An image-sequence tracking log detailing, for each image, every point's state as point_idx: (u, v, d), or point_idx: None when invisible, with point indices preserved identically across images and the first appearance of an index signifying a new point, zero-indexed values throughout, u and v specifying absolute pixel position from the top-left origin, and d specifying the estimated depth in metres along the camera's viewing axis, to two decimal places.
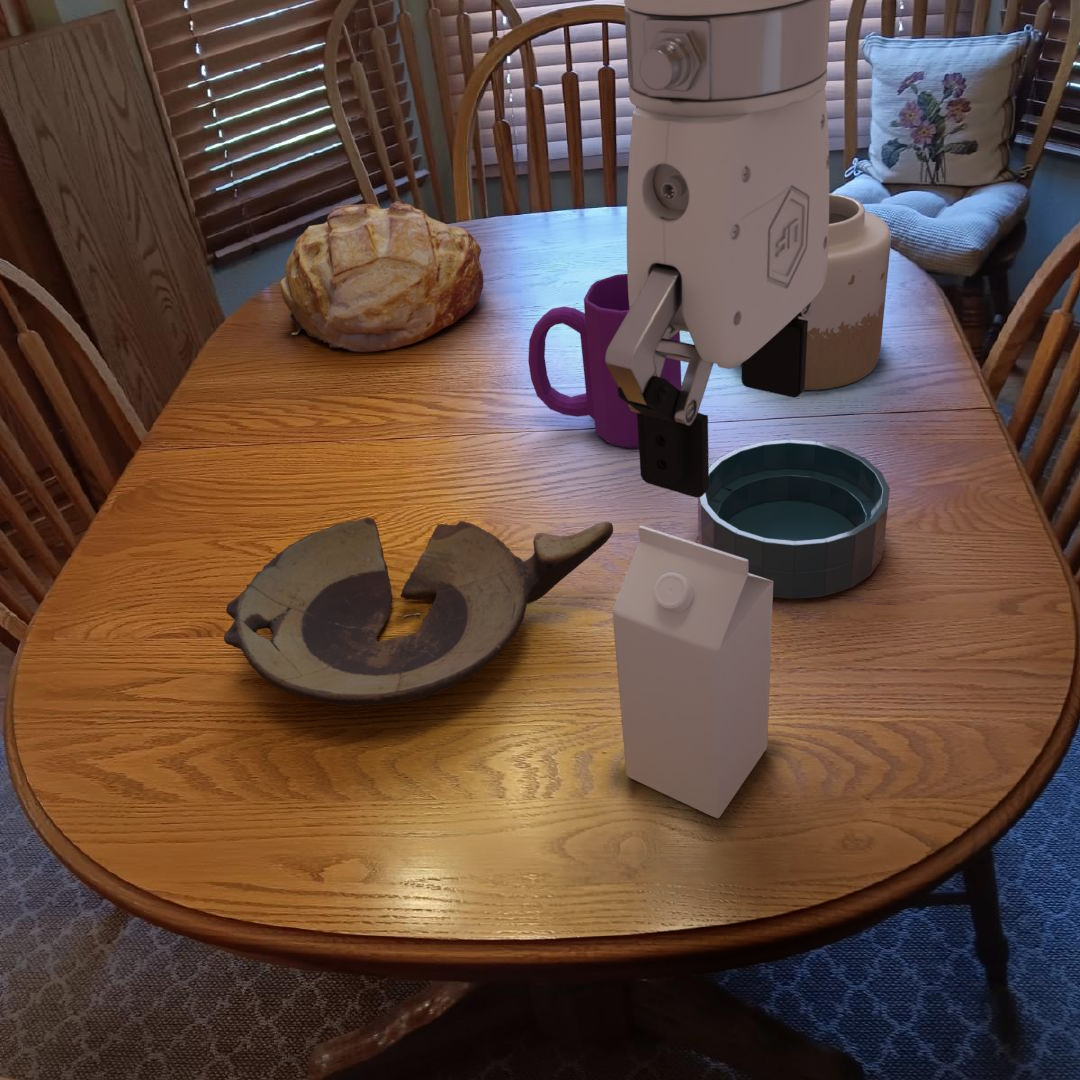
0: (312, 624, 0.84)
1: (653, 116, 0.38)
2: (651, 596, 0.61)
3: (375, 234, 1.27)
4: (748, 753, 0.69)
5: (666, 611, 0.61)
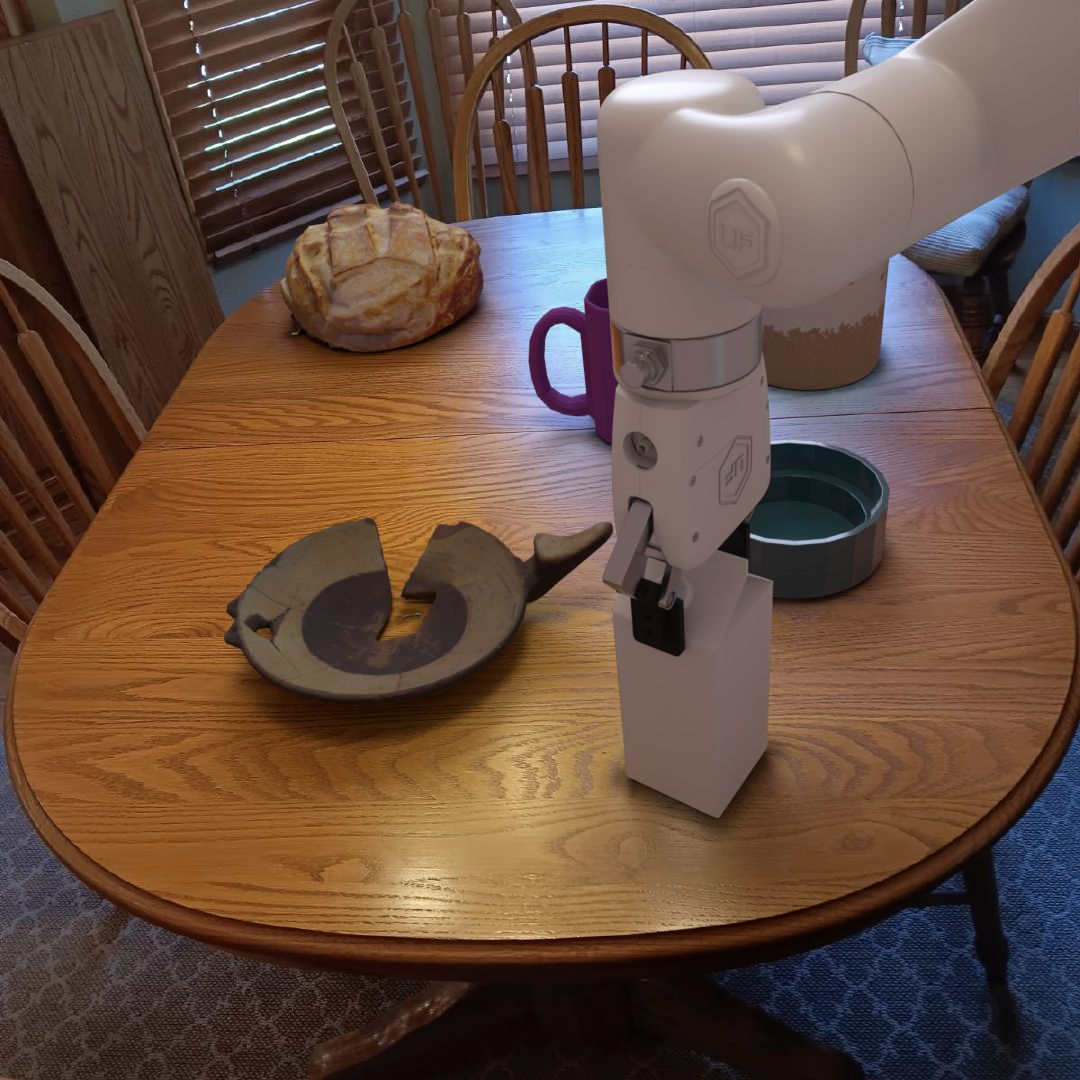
0: (312, 624, 0.84)
1: (630, 396, 0.52)
2: None
3: (375, 234, 1.27)
4: (748, 753, 0.69)
5: None
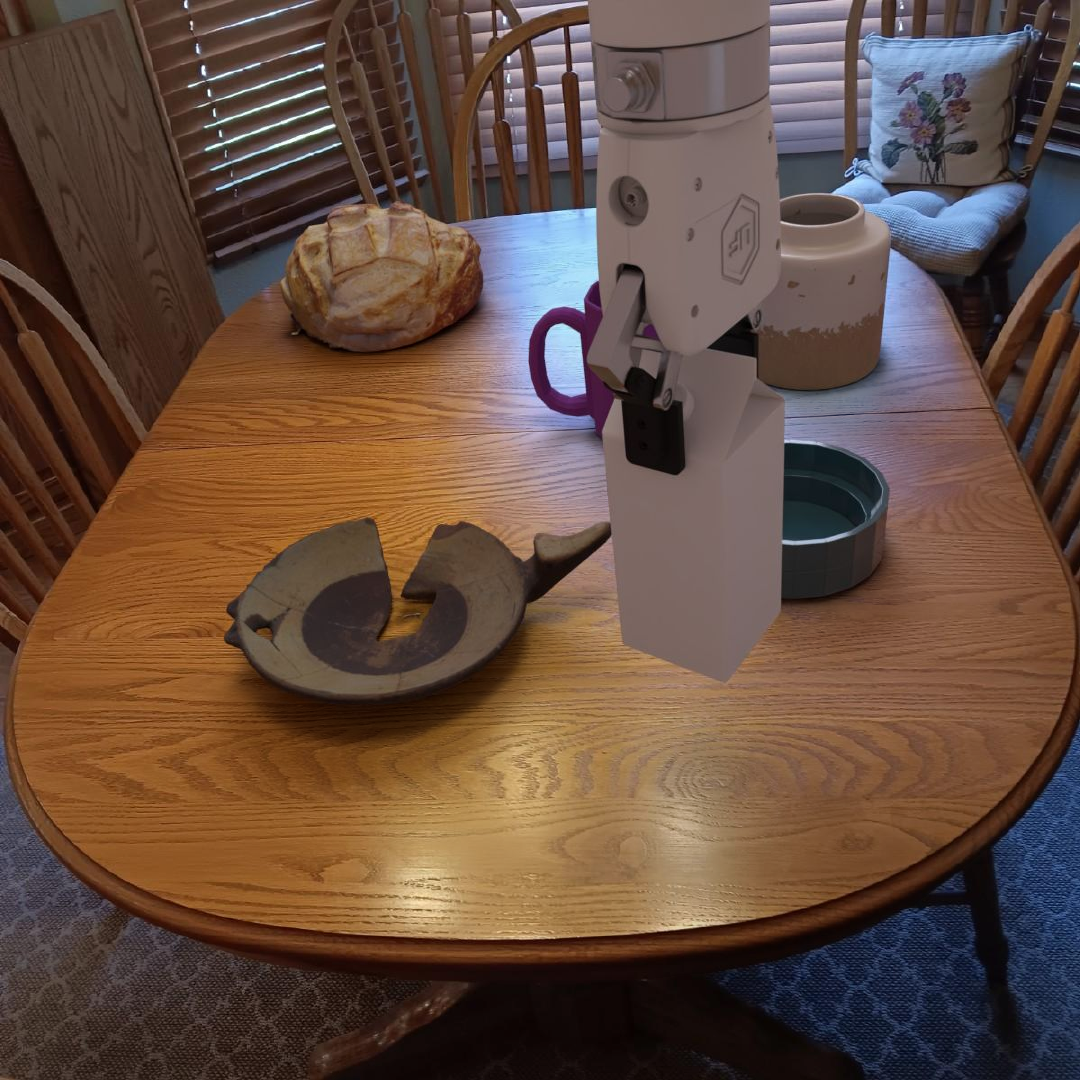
0: (312, 624, 0.84)
1: (616, 134, 0.44)
2: None
3: (375, 234, 1.27)
4: (759, 611, 0.61)
5: None
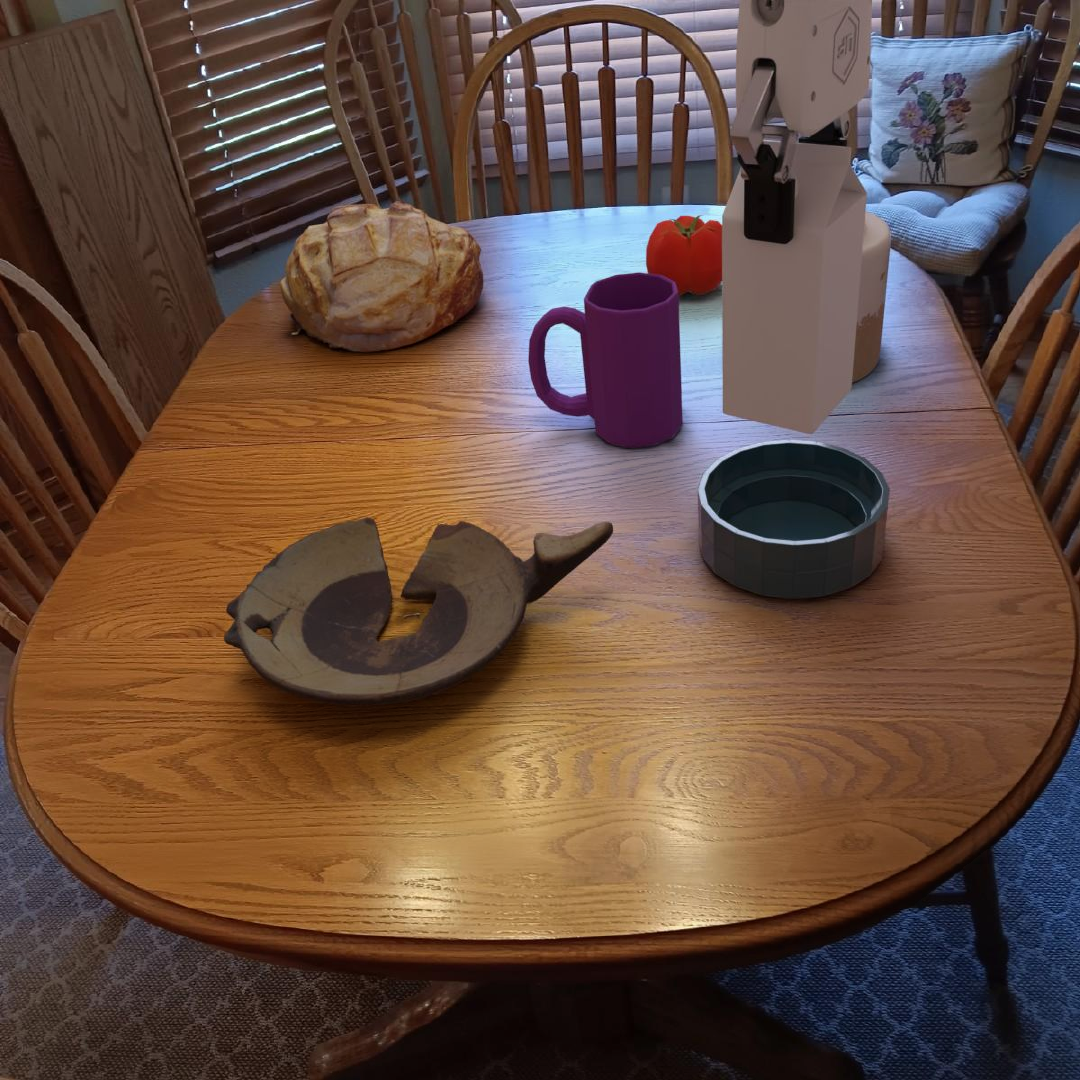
0: (312, 624, 0.84)
1: None
2: None
3: (375, 234, 1.27)
4: (837, 380, 0.75)
5: None
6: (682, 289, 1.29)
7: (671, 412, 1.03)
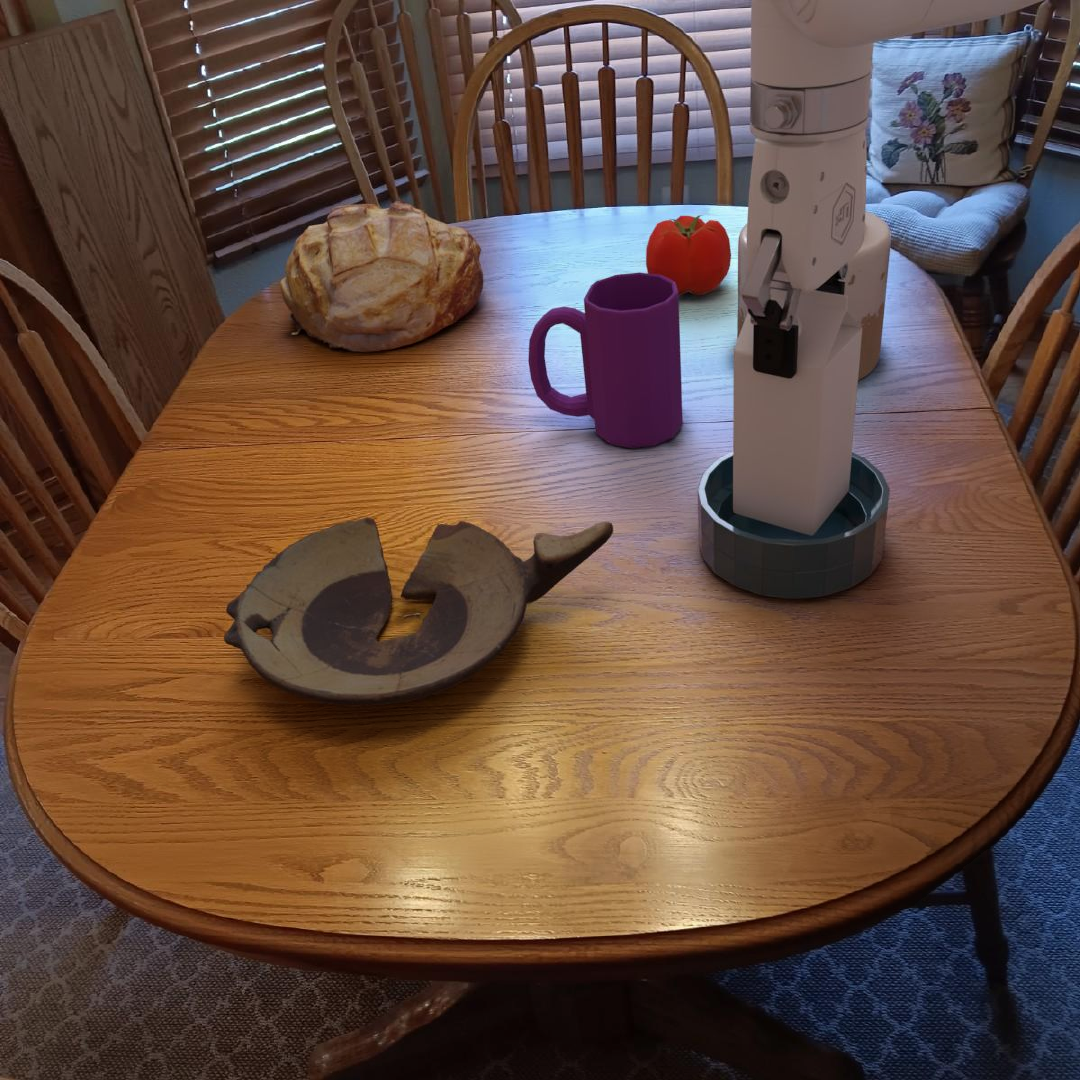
0: (312, 624, 0.84)
1: (768, 143, 0.67)
2: None
3: (375, 234, 1.27)
4: (836, 486, 0.84)
5: None
6: (682, 289, 1.29)
7: (671, 412, 1.03)
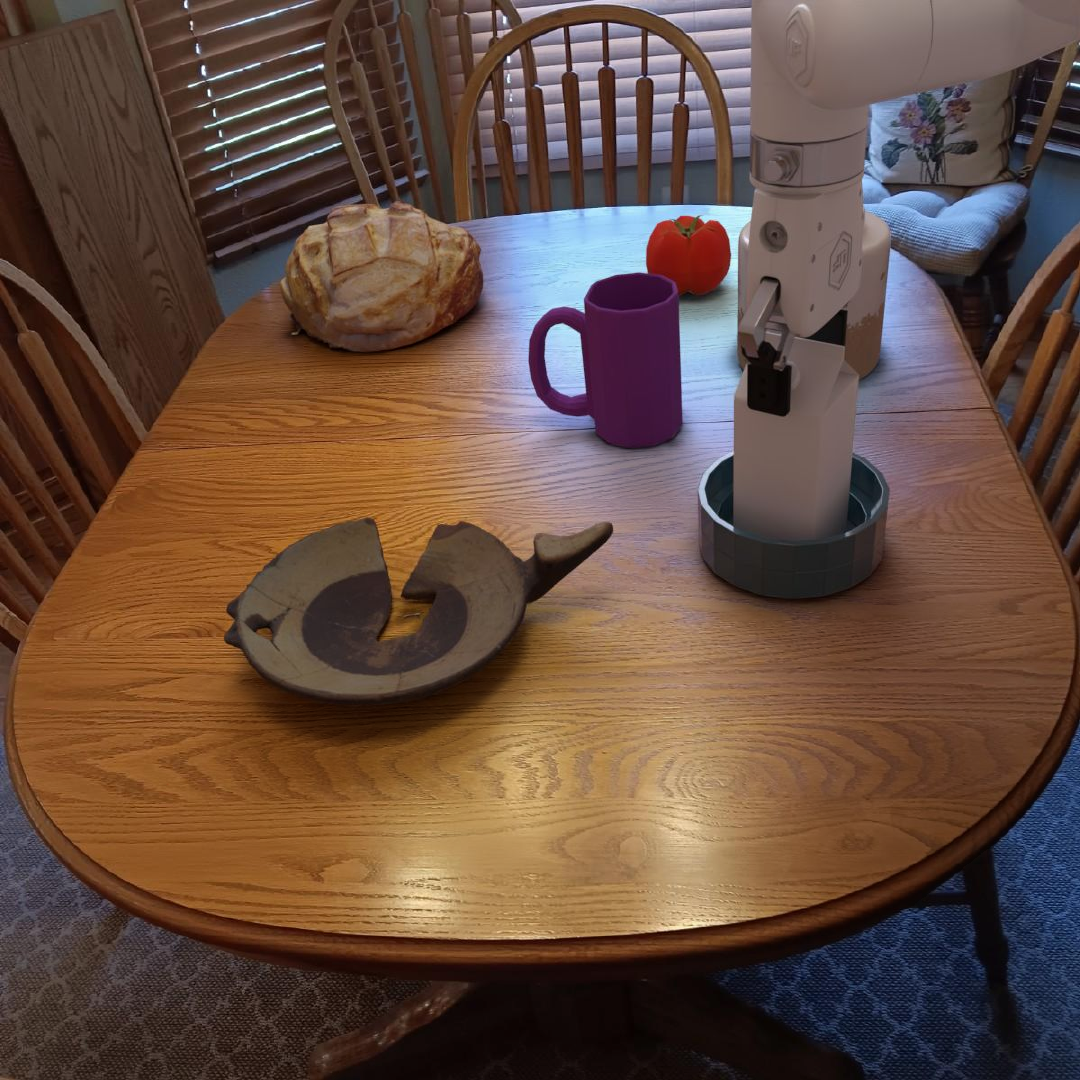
0: (312, 624, 0.84)
1: (767, 194, 0.69)
2: None
3: (375, 234, 1.27)
4: (833, 526, 0.86)
5: None
6: (682, 289, 1.29)
7: (671, 412, 1.03)
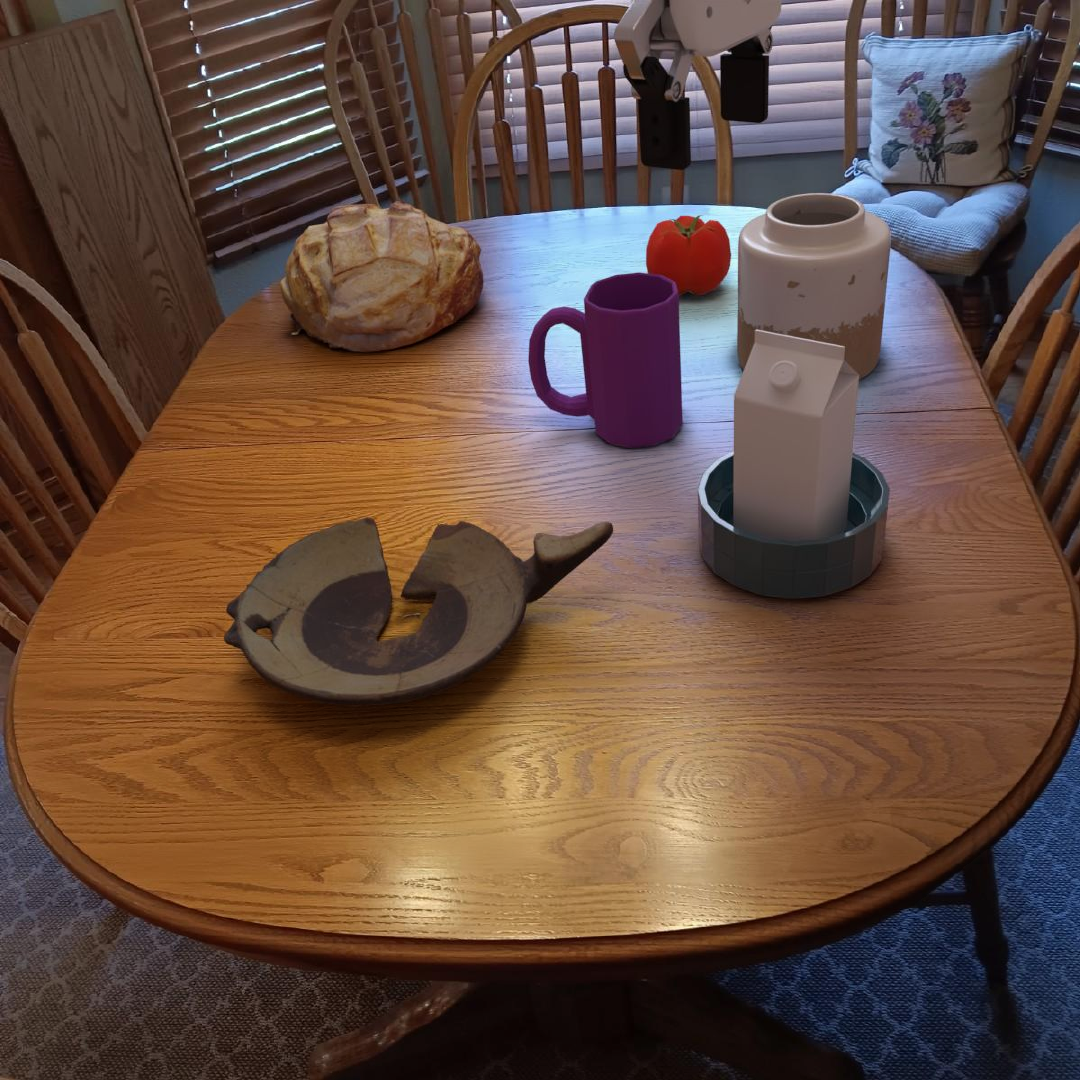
0: (312, 624, 0.84)
1: None
2: (765, 382, 0.79)
3: (375, 234, 1.27)
4: (833, 526, 0.86)
5: (778, 392, 0.78)
6: (682, 289, 1.29)
7: (671, 412, 1.03)
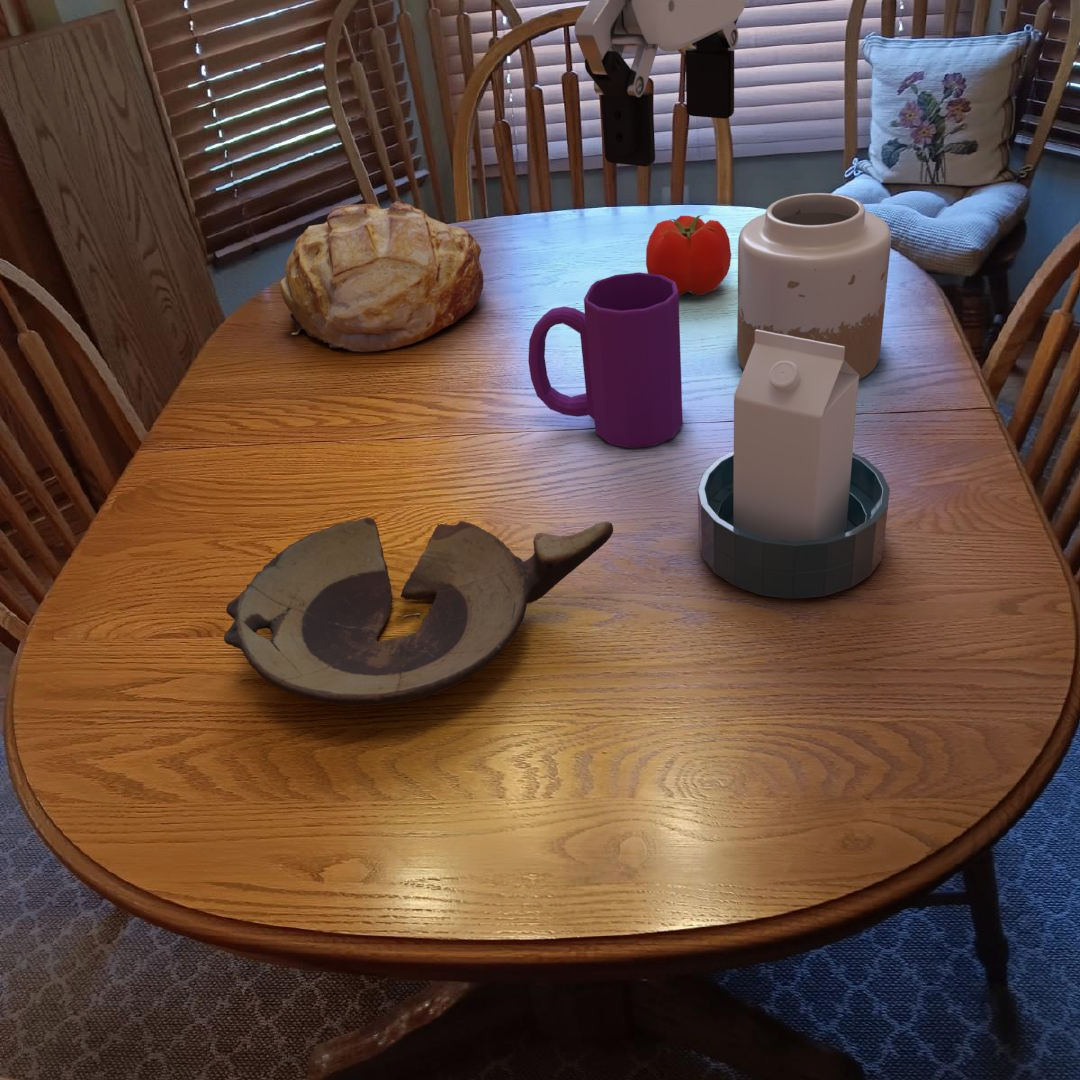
0: (312, 624, 0.84)
1: None
2: (765, 382, 0.79)
3: (375, 234, 1.27)
4: (833, 526, 0.86)
5: (778, 392, 0.78)
6: (682, 289, 1.29)
7: (671, 412, 1.03)
